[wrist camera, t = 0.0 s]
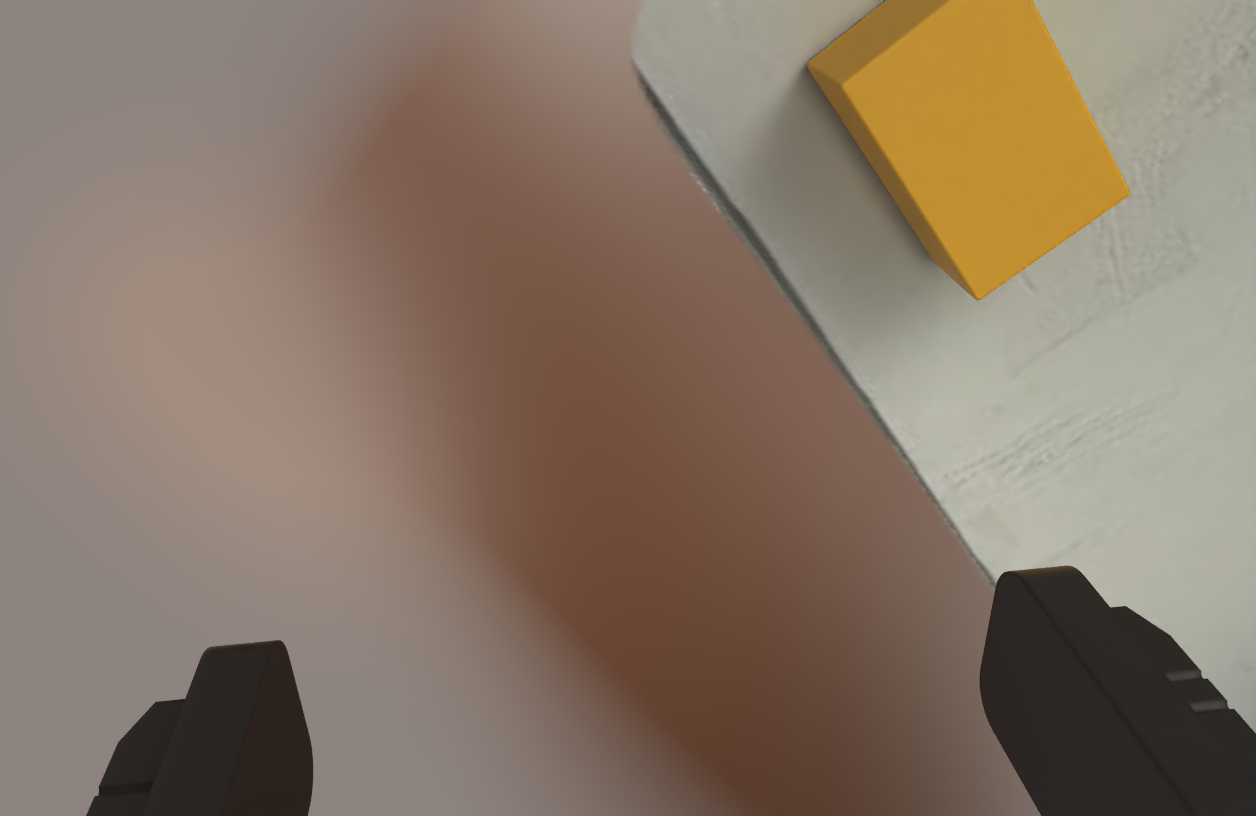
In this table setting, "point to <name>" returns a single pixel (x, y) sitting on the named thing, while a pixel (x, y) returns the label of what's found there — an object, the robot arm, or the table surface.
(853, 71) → the block
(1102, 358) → the table surface
